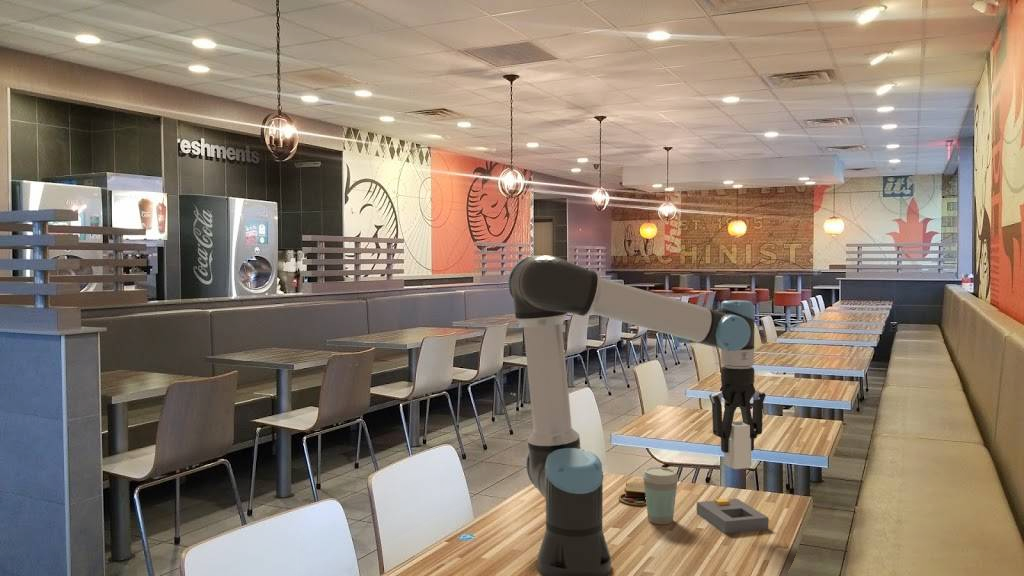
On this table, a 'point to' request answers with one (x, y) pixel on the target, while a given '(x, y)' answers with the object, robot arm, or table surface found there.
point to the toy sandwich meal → (634, 494)
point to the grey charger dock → (732, 516)
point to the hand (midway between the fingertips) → (737, 464)
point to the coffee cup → (660, 494)
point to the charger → (740, 444)
